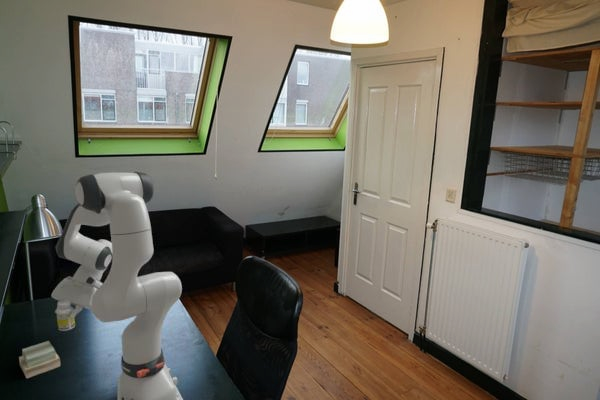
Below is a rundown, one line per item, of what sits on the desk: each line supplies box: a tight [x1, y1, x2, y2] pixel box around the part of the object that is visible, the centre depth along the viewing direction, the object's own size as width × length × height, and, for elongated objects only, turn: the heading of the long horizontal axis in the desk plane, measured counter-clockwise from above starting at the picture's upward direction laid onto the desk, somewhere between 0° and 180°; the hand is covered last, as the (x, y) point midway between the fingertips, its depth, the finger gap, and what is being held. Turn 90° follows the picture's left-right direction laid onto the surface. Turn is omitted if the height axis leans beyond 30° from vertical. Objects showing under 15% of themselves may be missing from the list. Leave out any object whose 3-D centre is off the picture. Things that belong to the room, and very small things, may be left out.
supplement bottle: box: [55, 300, 76, 332], centre depth 147 cm, size 5×5×10 cm
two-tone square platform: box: [18, 340, 61, 379], centre depth 140 cm, size 10×10×6 cm
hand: (63, 315), depth 146 cm, fingers closed on supplement bottle, 5 cm apart
